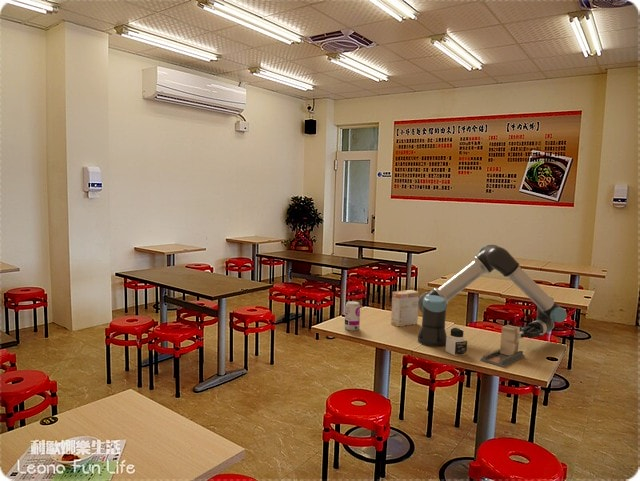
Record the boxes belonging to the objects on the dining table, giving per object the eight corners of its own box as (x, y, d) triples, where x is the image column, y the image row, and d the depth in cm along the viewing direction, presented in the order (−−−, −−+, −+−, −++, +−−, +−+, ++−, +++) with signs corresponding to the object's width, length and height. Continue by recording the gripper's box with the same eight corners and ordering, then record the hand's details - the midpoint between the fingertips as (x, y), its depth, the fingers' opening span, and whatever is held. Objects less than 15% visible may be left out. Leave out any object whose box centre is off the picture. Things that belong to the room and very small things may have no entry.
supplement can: (361, 328, 263) (362, 302, 261) (354, 331, 256) (355, 305, 255) (349, 326, 267) (350, 300, 266) (341, 329, 260) (342, 302, 259)
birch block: (505, 350, 228) (507, 324, 227) (517, 354, 224) (519, 327, 223) (499, 353, 224) (501, 326, 223) (512, 356, 220) (514, 329, 219)
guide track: (502, 350, 232) (502, 346, 232) (524, 357, 224) (525, 351, 224) (480, 360, 217) (480, 355, 217) (503, 367, 209) (503, 361, 209)
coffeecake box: (409, 321, 283) (411, 289, 281) (417, 324, 276) (419, 291, 275) (390, 323, 275) (391, 291, 273) (398, 327, 269) (399, 293, 267)
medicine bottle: (454, 356, 221) (456, 331, 220) (445, 351, 228) (446, 327, 227) (466, 354, 224) (468, 330, 223) (456, 350, 231) (458, 326, 230)
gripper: (548, 338, 240) (529, 347, 224) (523, 332, 249) (502, 340, 233) (549, 324, 239) (530, 332, 223) (524, 318, 248) (504, 326, 232)
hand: (516, 336), depth 228 cm, fingers closed
